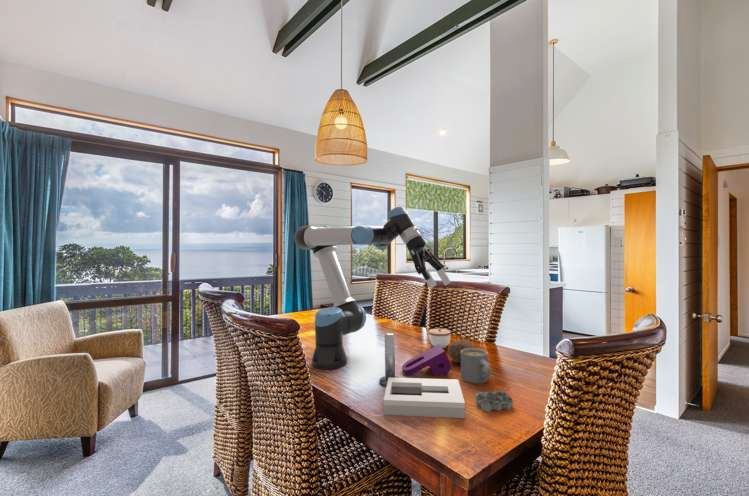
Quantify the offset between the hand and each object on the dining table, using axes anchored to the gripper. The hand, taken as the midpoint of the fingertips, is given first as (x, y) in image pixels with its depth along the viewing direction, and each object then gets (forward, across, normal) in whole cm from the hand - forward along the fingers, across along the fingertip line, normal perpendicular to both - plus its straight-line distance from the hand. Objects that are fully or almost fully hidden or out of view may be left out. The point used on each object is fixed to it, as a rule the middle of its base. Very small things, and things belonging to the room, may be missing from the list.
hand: (441, 285), depth 137 cm
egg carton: (+43, -13, +1) cm, 45 cm away
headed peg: (+22, -15, +32) cm, 41 cm away
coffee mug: (+36, +4, +10) cm, 38 cm away
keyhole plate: (+32, -23, +17) cm, 43 cm away
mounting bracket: (+25, +2, +27) cm, 37 cm away
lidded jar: (+19, +37, +33) cm, 53 cm away
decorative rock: (+29, +21, +20) cm, 41 cm away
